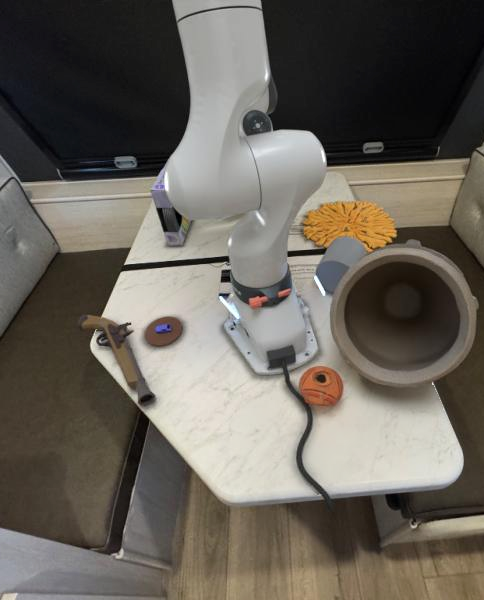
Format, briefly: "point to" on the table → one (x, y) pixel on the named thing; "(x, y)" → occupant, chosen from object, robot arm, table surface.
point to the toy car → (163, 331)
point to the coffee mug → (338, 261)
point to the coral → (350, 224)
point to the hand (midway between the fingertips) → (241, 175)
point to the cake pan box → (169, 214)
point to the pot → (321, 386)
